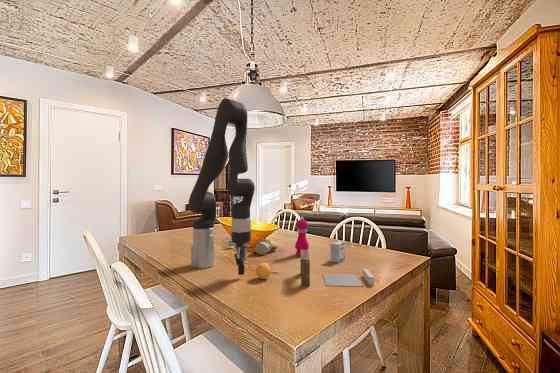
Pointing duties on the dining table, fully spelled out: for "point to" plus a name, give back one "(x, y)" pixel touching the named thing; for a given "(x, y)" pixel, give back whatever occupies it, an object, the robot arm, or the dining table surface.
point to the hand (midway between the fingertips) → (241, 274)
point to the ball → (263, 271)
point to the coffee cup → (231, 244)
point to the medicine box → (337, 251)
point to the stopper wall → (368, 277)
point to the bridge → (305, 268)
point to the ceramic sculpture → (264, 246)
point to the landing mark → (342, 280)
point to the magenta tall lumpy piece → (301, 236)
